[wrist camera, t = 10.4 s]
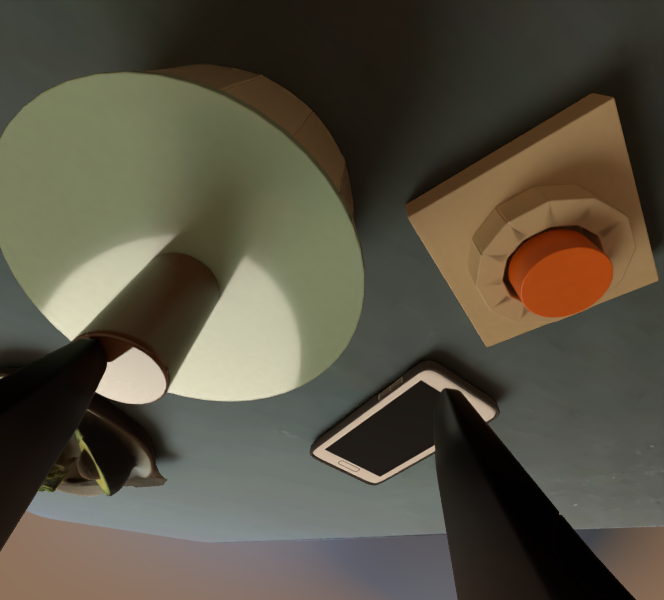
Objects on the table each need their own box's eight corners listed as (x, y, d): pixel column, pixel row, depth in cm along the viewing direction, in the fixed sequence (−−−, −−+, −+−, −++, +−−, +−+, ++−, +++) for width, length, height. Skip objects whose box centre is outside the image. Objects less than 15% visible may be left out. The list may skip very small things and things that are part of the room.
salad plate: (82, 500, 42) (54, 544, 38) (-82, 415, 34) (-137, 461, 30) (195, 458, 35) (174, 508, 31) (21, 338, 27) (-35, 386, 23)
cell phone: (306, 445, 32) (305, 455, 31) (427, 353, 25) (429, 363, 24) (373, 477, 34) (374, 488, 33) (502, 402, 27) (506, 413, 26)
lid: (430, 307, 15) (458, 425, 10) (209, 415, 20) (164, 524, 16) (163, -62, 9) (-50, -171, 4) (-46, 231, 14) (-238, 318, 10)
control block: (639, 264, 20) (685, 301, 17) (479, 329, 23) (495, 369, 20) (592, 92, 15) (643, 103, 13) (404, 204, 19) (411, 233, 16)
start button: (601, 274, 17) (622, 295, 15) (522, 307, 18) (536, 329, 17) (580, 213, 15) (602, 230, 14) (496, 254, 17) (508, 273, 15)
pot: (396, 235, 20) (408, 312, 14) (234, 327, 25) (194, 412, 19) (239, -9, 14) (156, -42, 9) (69, 172, 19) (-55, 226, 14)
